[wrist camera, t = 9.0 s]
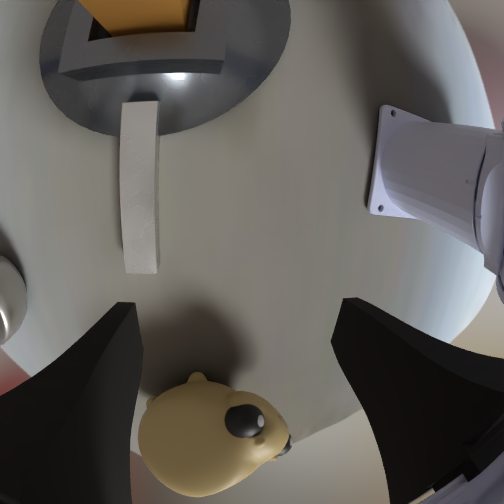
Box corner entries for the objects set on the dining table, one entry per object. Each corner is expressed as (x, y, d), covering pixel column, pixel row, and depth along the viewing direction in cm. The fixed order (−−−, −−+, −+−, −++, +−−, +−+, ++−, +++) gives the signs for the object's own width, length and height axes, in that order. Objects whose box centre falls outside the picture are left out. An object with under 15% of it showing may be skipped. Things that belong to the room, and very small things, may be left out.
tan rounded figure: (285, 391, 25) (317, 482, 16) (184, 428, 26) (190, 512, 16) (241, 330, 21) (271, 452, 11) (123, 378, 21) (108, 482, 12)
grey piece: (291, -50, 10) (309, -76, 6) (264, 263, 19) (279, 291, 16) (75, -42, 7) (59, -63, 3) (46, 260, 16) (21, 285, 13)
